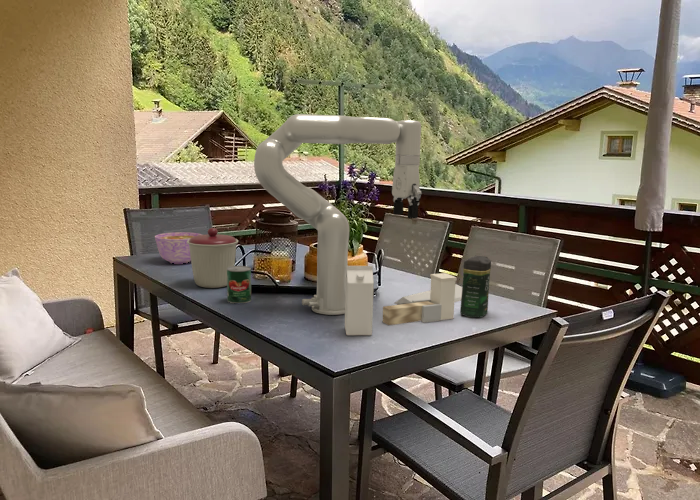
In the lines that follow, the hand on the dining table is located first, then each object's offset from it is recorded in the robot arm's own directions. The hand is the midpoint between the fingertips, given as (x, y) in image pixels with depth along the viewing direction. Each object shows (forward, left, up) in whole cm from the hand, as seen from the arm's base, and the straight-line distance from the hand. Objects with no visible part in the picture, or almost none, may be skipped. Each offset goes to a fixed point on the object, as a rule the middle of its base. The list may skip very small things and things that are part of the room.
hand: (405, 216), depth 186 cm
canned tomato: (-47, +26, -30) cm, 62 cm away
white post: (+5, -12, -30) cm, 33 cm away
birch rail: (-4, -12, -30) cm, 33 cm away
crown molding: (+17, +7, -31) cm, 36 cm away
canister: (-51, +50, -30) cm, 78 cm away
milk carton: (-23, -17, -30) cm, 41 cm away
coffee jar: (+19, -13, -30) cm, 38 cm away
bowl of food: (-57, +95, -30) cm, 115 cm away
